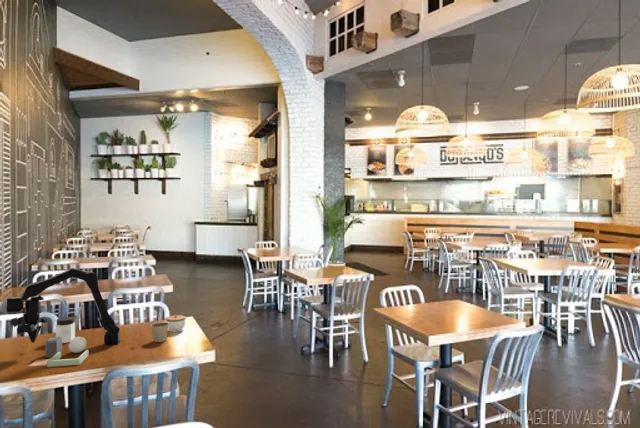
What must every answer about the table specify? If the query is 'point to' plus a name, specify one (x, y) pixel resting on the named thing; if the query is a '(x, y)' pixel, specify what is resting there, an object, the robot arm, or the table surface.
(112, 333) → the robot arm
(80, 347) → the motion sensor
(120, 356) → the table surface
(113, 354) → the table surface
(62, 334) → the jar
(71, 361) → the frame
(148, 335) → the table surface
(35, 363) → the terracotta mat
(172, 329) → the lidded jar
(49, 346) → the grey block
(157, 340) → the flower pot
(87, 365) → the table surface
